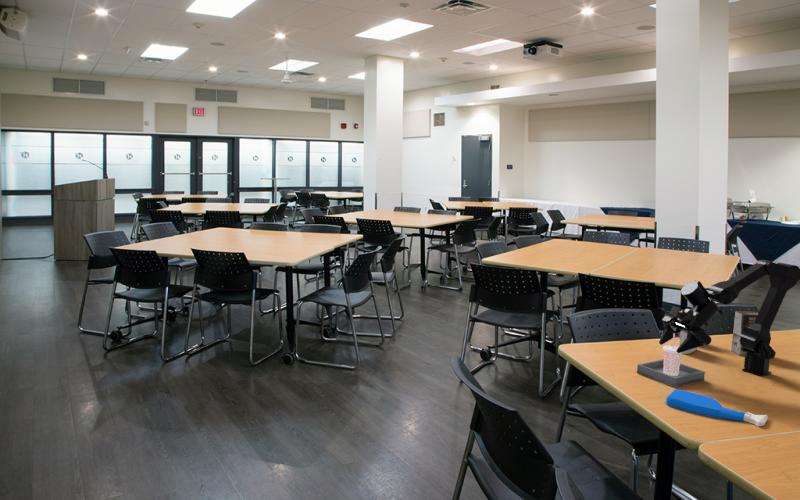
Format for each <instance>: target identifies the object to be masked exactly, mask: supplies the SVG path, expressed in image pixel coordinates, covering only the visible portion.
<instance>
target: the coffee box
mask: <svg viewBox="0 0 800 500" xmlns="http://www.w3.org/2000/svg"><path fill="white" fill-rule="evenodd" d="M758 313H759V311H750V310H749V311H748V310H747V311H744V310H735V313H734V314H735V315H734V322H733V330H732V332H733V333H732V341H731V348H730V349H731V351H732V352H733V353H735V354H736V355H737V356H744V357H745V356H746V353H747V352H744V351H743V348H742V345H741V343H740V338H741V337H740V335H741V334H742V331H743V328H744V327H745V326H747V327H750V326H751V325H753V324H754V322H755V319H756V317H757V315H758Z"/></svg>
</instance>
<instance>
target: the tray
mask: <svg viewBox="0 0 800 500" xmlns="http://www.w3.org/2000/svg"><path fill="white" fill-rule="evenodd" d="M636 367H637V370H636V373H637V374H639V375H641V376H645V377H647V378H650V379H651V380H654V381H658V382H659V383H662V384H665V385H667V386H670V387H673V388H678V387H682V386H687V385H691V384H694V383H698V382H702V381H705V375H706V371H705V370H702V369H698V368H696V367H692V366H690V365H686V364H683V363H681V362H680V367H679V374H678V376H670V375H668V374H665V373H663V368H664V358H663V359H658V360H653V361H648V362H643V363H639V364H637V366H636Z"/></svg>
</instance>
